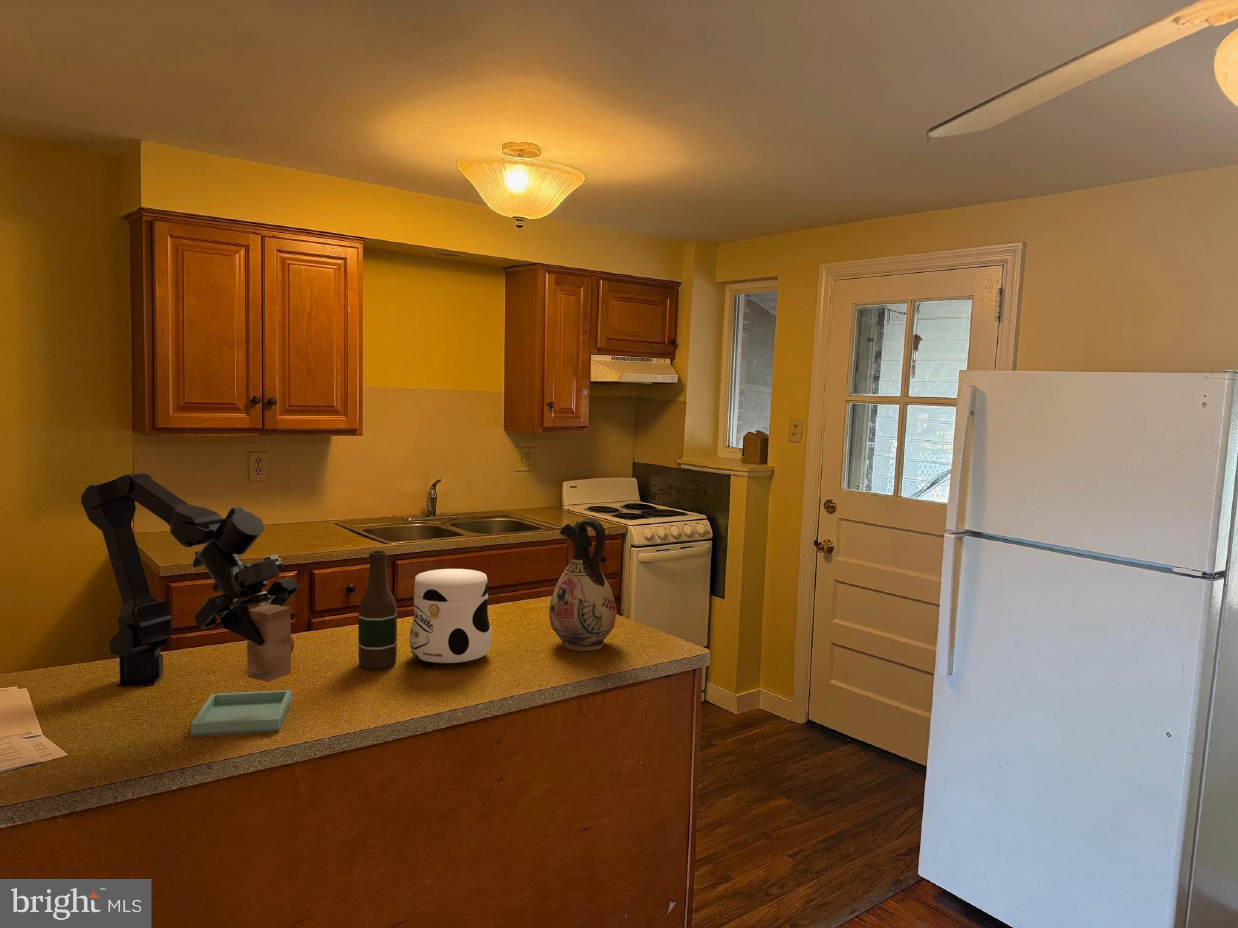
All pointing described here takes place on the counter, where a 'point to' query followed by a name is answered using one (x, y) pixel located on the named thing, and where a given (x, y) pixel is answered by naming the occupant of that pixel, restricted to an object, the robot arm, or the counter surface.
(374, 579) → the beer bottle
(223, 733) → the teal tray
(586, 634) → the ceramic jug
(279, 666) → the walnut block
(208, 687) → the counter surface
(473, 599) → the milk container
